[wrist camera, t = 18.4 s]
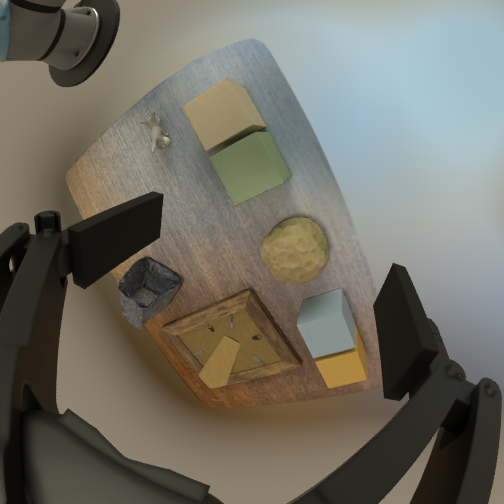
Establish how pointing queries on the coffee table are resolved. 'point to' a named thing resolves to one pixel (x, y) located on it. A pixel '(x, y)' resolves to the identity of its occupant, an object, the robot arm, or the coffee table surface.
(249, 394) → the coffee table surface
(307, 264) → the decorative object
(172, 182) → the coffee table surface
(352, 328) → the block
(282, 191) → the coffee table surface
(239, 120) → the block
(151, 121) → the dog figurine
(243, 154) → the block
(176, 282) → the stone
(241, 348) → the picture frame
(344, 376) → the block
